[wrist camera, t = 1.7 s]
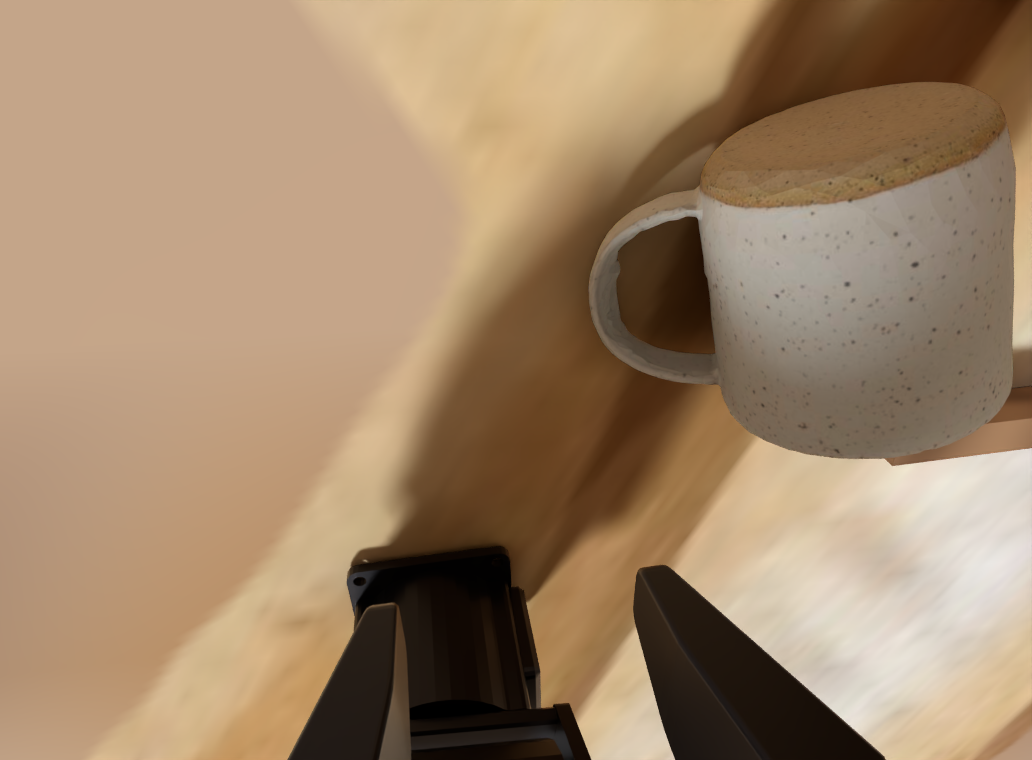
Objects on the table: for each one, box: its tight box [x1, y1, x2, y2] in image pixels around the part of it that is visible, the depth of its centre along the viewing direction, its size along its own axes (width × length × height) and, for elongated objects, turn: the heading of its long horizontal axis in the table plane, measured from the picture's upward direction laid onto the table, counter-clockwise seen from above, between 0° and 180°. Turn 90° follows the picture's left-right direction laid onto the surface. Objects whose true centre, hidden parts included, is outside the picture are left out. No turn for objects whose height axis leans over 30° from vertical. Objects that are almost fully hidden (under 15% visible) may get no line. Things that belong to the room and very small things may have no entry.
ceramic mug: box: [588, 82, 1016, 459], centre depth 18 cm, size 11×8×8 cm
